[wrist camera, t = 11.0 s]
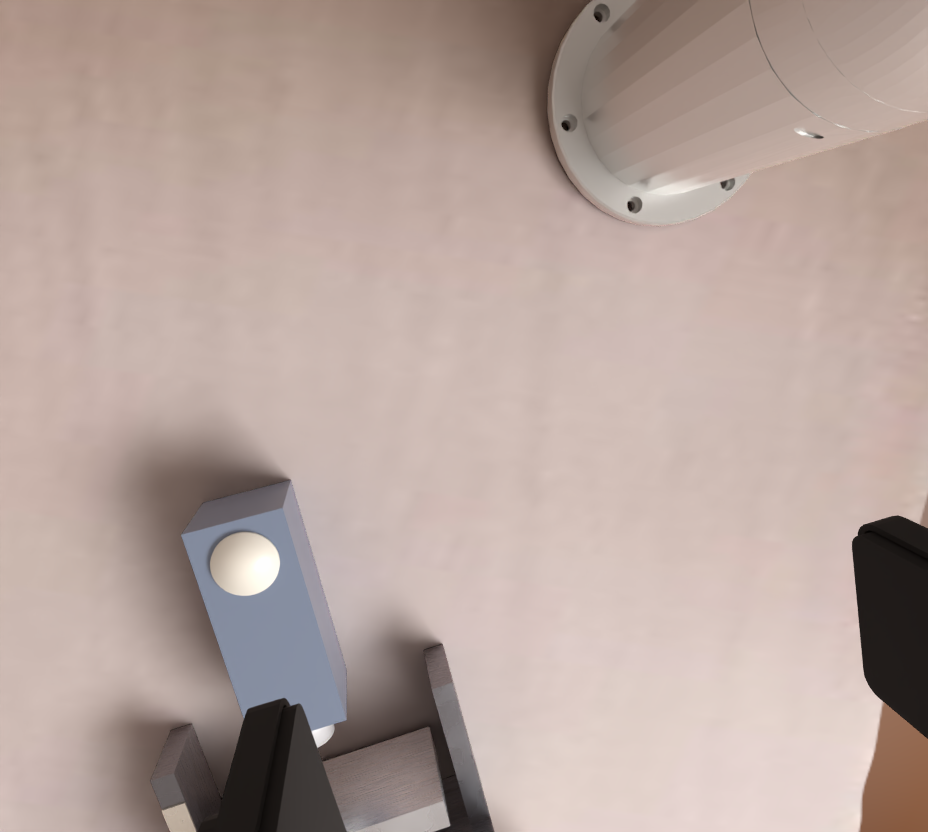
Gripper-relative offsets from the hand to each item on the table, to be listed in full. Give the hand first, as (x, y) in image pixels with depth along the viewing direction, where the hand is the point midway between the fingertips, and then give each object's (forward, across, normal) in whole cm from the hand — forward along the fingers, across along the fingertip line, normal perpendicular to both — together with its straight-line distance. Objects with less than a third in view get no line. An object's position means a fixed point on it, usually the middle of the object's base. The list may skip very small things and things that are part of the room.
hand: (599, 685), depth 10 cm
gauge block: (+26, +11, +9) cm, 30 cm away
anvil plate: (+25, +13, +21) cm, 35 cm away
